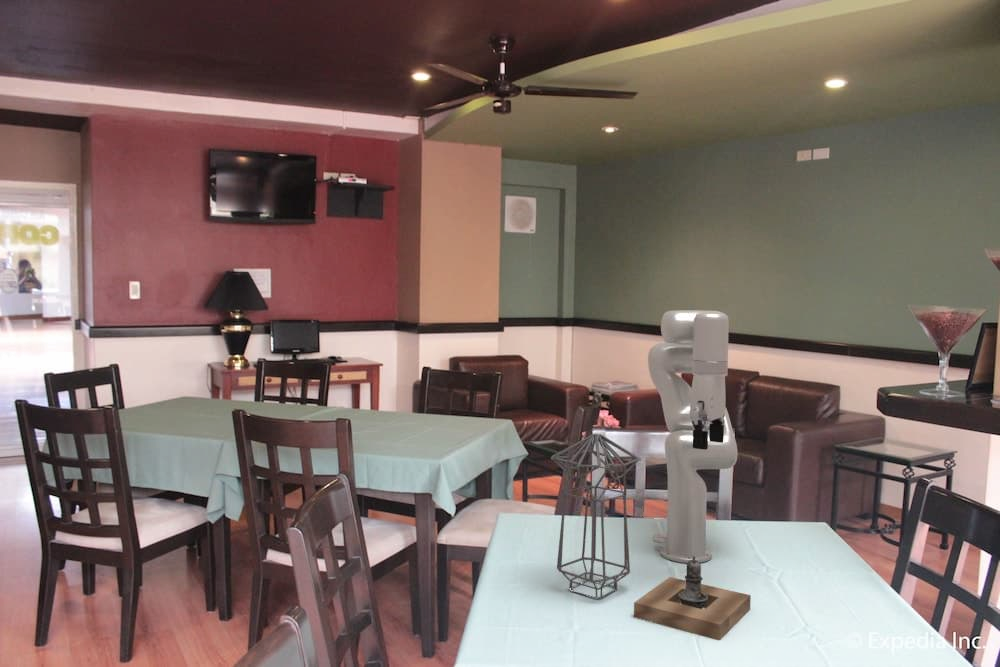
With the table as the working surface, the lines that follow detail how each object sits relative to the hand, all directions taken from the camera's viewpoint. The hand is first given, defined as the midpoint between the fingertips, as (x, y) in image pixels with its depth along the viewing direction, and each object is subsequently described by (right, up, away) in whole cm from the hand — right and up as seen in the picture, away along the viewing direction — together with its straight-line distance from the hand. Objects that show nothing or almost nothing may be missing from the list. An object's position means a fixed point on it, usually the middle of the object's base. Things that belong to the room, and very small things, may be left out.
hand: (708, 445), depth 176 cm
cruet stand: (-6, -33, -12) cm, 36 cm away
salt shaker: (-6, -33, -12) cm, 36 cm away
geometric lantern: (-25, -32, +1) cm, 41 cm away
